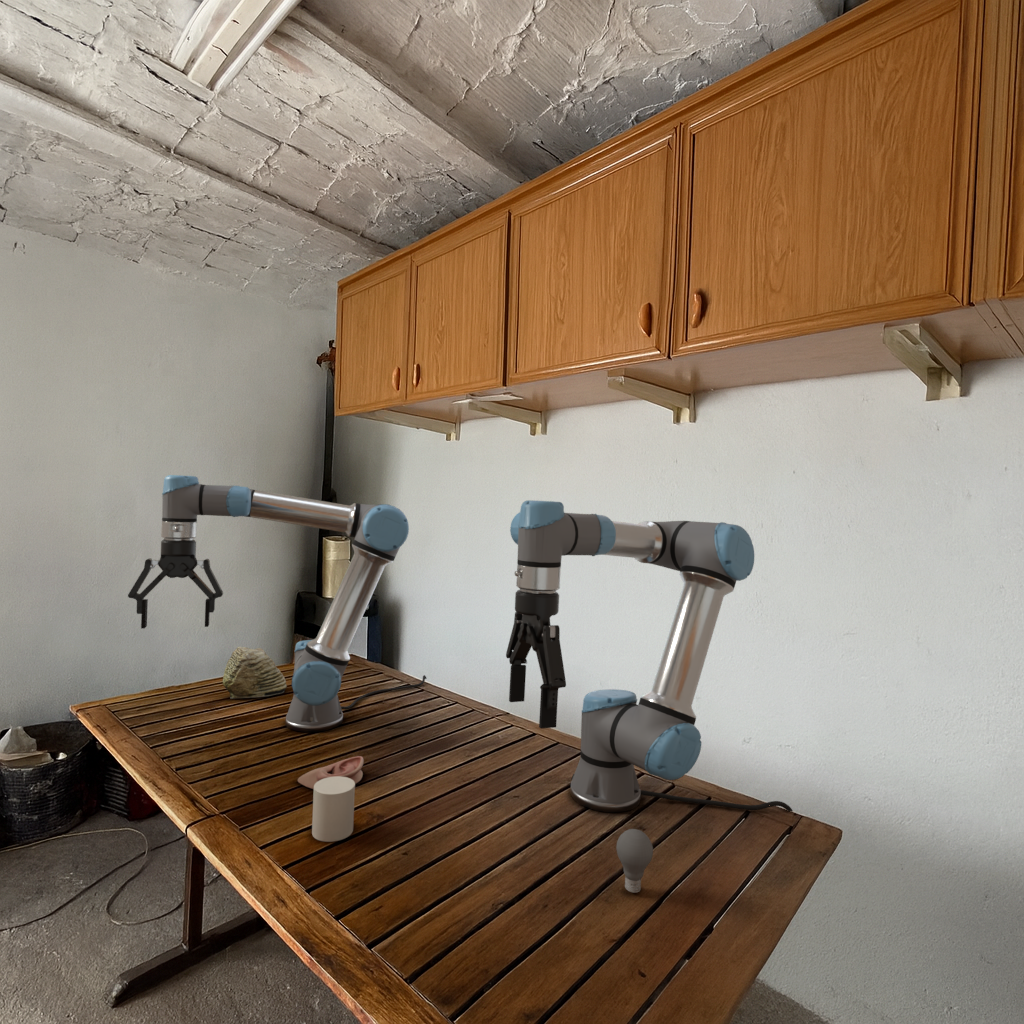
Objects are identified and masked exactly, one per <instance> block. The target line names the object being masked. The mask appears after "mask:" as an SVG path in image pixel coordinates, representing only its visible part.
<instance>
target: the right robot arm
mask: <svg viewBox="0 0 1024 1024" xmlns="http://www.w3.org/2000/svg"><path fill="white" fill-rule="evenodd" d="M509 527H510V528H509V531H510V533H509V534H510V537H511V539H512V541H513V542H514V544H516V545H517V560H516V561H517V562H516V563H517V564H516V570H515V571H514V576H515V577H516V584H515V586H516V587H517V588H518V590H516V591H515V597H514V611H515V612H514V620H513V625H512V630H511V633H510V637H509V641H508V645H507V649H506V653H505V657H506V659H509V665H510V672H509V674H510V675H509V690H508V692H509V693H508V702H510V703H518V702H525V696H526V694H525V693H526V678H527V677H526V674H527V665H526V664H528V660H527V657H528V655H529V653H530V651H531V649H532V651H534V652H535V653H536V658H537V662H538V667H539V671H540V675H541V678H542V684H541V685H540V687H539V688H540V699H539V700H540V701H539V703H540V704H539V722H538V728H540V729H541V730H542V729H553V728H557V722H558V721H557V720H558V719H557V717H558V699H559V689H561V688H566V686H567V681H566V674H565V668H564V667H565V666H564V661H563V660H564V659H563V655H562V647H561V640H560V638H561V637H560V636H561V635H560V633H561V632H560V625H558V624H556V625H554V624H551V617H553V616H556V615H558V613H559V609H560V607H559V606H560V594H559V592H557V591H559V590H560V589H561V574H562V558H563V556H591V557H595V556H612V557H622V558H633V559H634V560H636V561H637V562H639V563H641V564H649V565H654V566H658V567H662V568H665V569H670V570H674V571H678V572H679V573H678V575H679V578H680V579H681V582H682V583H683V585H682V588H681V592H680V595H679V598H678V601H677V604H676V607H675V611H674V614H673V617H672V621H671V624H670V627H669V629H668V630H669V631H668V633H667V637H666V640H665V643H664V646H663V650H662V652H661V655H660V658H659V659H660V660H659V663H658V666H657V669H656V672H655V675H654V678H653V682H652V685H651V687H650V690H649V691H648V692H647V693H645V694H643V695H640V699H639V701H638V698H637V694H636V693H635V692H633V691H631V690H626V689H616V688H612V689H611V688H610V689H608V688H607V689H597V690H592V691H589V692H588V693H587V694H585V696H584V697H583V700H582V701H583V702H582V709H581V721H580V722H581V723H580V724H581V725H580V728H581V729H580V754H579V762H578V763H577V765H576V768H575V771H574V773H573V774H572V776H571V781H570V791H569V792H570V796H571V798H572V799H573V801H575V802H576V803H578V804H579V805H581V806H583V807H584V808H588V809H590V810H592V811H593V810H594V811H596V812H597V811H598V812H603V813H622V812H627V811H631V810H633V809H635V808H637V807H638V806H639V805H640V802H641V796H645V797H652V798H659V799H663V800H670V801H674V802H680V803H689V804H698V805H706V806H715V807H722V808H727V809H736V810H745V811H760V810H764V809H768V808H771V807H772V808H773V807H781V808H783V809H785V810H786V811H787V812H793V811H794V810H793V809H792V807H791V806H790V805H789V804H787V803H785V802H783V801H781V800H780V801H779V800H773V801H767V802H764V803H760V804H743V803H742V804H741V803H733V802H726V801H719V800H714V799H713V800H712V799H704V798H694V797H686V796H680V795H679V796H678V795H673V794H667V793H662V792H657V791H649V790H644V789H641V787H640V784H639V781H638V776H637V773H636V769H635V767H638V768H639V769H641V770H643V771H644V772H647V773H648V774H649V775H651V776H655V777H658V778H661V779H663V780H666V781H675V780H678V779H681V778H683V777H684V776H685V775H686V774H688V773H689V772H690V771H691V770H692V769H693V767H694V766H695V765H696V762H697V760H698V758H699V757H700V753H701V749H702V741H701V739H702V735H701V732H700V730H699V729H698V727H696V725H695V724H696V721H697V714H696V713H695V712H694V710H693V702H694V699H695V696H696V692H697V689H698V685H699V682H700V679H701V675H702V672H703V668H704V665H705V662H706V658H707V656H708V655H707V654H708V652H709V649H710V645H711V642H712V638H713V634H714V632H715V627H716V625H717V621H718V618H719V615H720V611H721V607H722V604H723V600H724V597H725V596H727V595H729V594H730V593H731V594H732V593H733V592H734V590H735V587H736V584H737V581H738V582H739V581H744V580H747V578H748V577H749V576H750V575H751V573H752V571H753V569H754V566H755V565H754V564H755V548H754V547H755V546H754V545H753V542H752V541H753V540H752V538H751V536H750V534H749V533H748V531H747V530H746V528H743V526H740V525H738V524H733V523H727V522H722V521H721V522H711V521H710V522H709V521H695V520H693V521H692V520H670V521H669V520H668V521H667V520H666V521H651V520H643V521H640V522H638V523H632V522H624V521H619V520H618V521H617V520H612V519H611V518H609V517H608V516H606V515H603V514H597V513H575V512H574V513H573V512H565V506H564V504H563V503H562V502H561V501H554V500H553V501H552V500H535V499H534V500H532V499H528V500H524V501H523V502H522V504H521V505H520V510H519V512H518V513H516V514H515V515H514V517H513V518H512V519H511V522H510V526H509ZM637 703H638V704H637ZM769 805H770V806H769Z"/></svg>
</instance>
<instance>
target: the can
mask: <svg viewBox="0 0 1024 1024" xmlns="http://www.w3.org/2000/svg"><path fill="white" fill-rule="evenodd" d="M355 792H356V784H355V782H354V781H353V780H352V779H350V778H347V777H341V776H335V777H328V778H324V779H321V780H319V781H318V782H316V783H315V785H314V789H313V795H312V796H313V797H312V823H311V834H312V837H313V838H314V839H315V840H316V841H320V842H326V843H331V842H338V841H342V840H345V839H346V838H348V837H350V836H351V835H352V834H353V832H354V823H355V822H354V821H355V820H354V819H355Z"/></svg>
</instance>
